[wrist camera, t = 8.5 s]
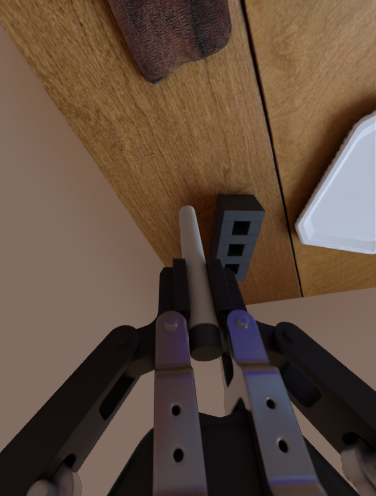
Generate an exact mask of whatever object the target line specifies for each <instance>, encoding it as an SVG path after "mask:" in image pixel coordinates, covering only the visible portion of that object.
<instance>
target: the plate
mask: <svg viewBox="0 0 376 496" xmlns="http://www.w3.org/2000/svg"><path fill="white" fill-rule="evenodd" d="M295 229H296V232H297V234H298V237H299V239H300V242H301V243H303V244H307V245H313V246H320V247H327V248H333V249H340V250H346V251H353V252H360V253H366V254H375V253H376V110H374V111H373V112H371V113H369V114H368V115H366V116H364V117H363V118H361V119H359V120H358V121H356V122H355V124H354V125H353V126H352V127H351V129H350V130H349V132H348V134H347V135H346V137H345V139H344V141H343V142H342V144H341V146H340V147H339V149H338V151H337V152H336V154H335V156H334V157H333V159H332V161H331V162H330V164H329V166H328V168H327V169H326V171H325V173H324V174H323V176H322V178H321V179H320V181H319V183H318V184H317V186H316V188H315V189H314V191H313V193H312V195H311V196H310V198H309V200H308V201H307V203H306V205H305V206H304V208H303V210H302V211H301V213H300V215H299V216H298V218H297V220H296V221H295Z"/></svg>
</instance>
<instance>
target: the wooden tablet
mask: <svg viewBox="0 0 376 496" xmlns="http://www.w3.org/2000/svg"><path fill="white" fill-rule="evenodd" d="M107 1H108V3H109V5H110V7H111V10H112V12H113V14H114V16H115V18H116V21H117V23H118V25H119V27H120V29H121V31H122V34H123V36H124V38H125V40H126V43H127V45H128V47H129V49H130V51H131V53H132V55H133V57H134V59H135V61H136V63H137V64H138V66H139V68H140V70H141V72H142V73H143V75H144V76H145V78H146V79H147V80H148V81H149V82H151V83H153V84H157V83H159V82H161V81H162V80H163V79H164V78H166V77H167V76H168V75H169V74H171V73H172V72H173V71H174V70H175V69H176V68H177V67H179V66H180V65H182V64H183V63H186V62H189V61H196V60H200V59H203V58H205V57H208V56H210V55H212V54H214V53H216V52H218V51H219V50H221V49H222V48H224V47H225V46H226V44H227V43H228V40H229V38H230V36H231V27H232V26H231V20H230V14H229V8H228V1H227V0H107Z"/></svg>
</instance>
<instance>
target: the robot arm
mask: <svg viewBox="0 0 376 496" xmlns="http://www.w3.org/2000/svg"><path fill="white" fill-rule="evenodd" d="M206 268H207V273H208V278H209V283H210V288H211V293H212V297H213V302H214V307H215V312H216V317H217V320H218V325H219V330H220V335H221V340H222V344H223V349H224V351H223V354H222V355H221V356H220V357H219V358H220V364H221V371H222V378H223V384H224V408H225V416H224V417H215V416H211V415H207V414H203V413H200V412H198V405H197V397H196V389H195V380H194V373H193V368H192V367H191V362H190V353H189V344H188V335H187V334H188V322H189V318H190V300H189V290H188V280H187V270H186V260H185V258H173V266H172V267H164V268H163V270H162V271H161V273H160V282H159V307H158V315H157V317H156V319H155V320H154V321H153V322H152V323H151V324H149V325H147V326H144V327H141V328H138V329H135V328H134V327H132V326H129V325H123V326H119V327H117V328H115V329H113V330H112V331H111V332H110V333H109V334H108V335H107V336H106V337H105V339H104V340H103V341H102V342H101V343H100V344H99V345H98V346H97V347H96V349H95V350H94V351H93V352H92V353H91V354H90V355H89V356H88V357H87V358H86V360H84V362H83V363H82V364H81V365H80V366H79V367H78V368H77V369H76V370H75V371H74V372H73V374H72V375H71V376H70V377H69V378H68V379H67V380H66V381H65V382H64V384H63V385H62V386H61V387H60V388H59V389H58V390H57V391H56V392H55V393H54V395H53V396H52V397H51V398H50V399H49V400H48V401H47V402H46V403H45V404H44V406H42V408H41V409H40V410H39V411H38V412H37V413H36V414H35V415H34V417H32V419H31V420H30V421H29V422H28V423H27V424H26V425H25V426H24V427H23V428H22V430H21V431H20V432H19V433H18V434H17V435H16V436H15V437H14V439H12V441H11V442H10V443H9V444H8V445H7V446H6V447H5V448H4V449H3V450H2V451H1V453H0V496H81V492H82V485H81V480H80V477H79V475H78V474H77V471H78V470H79V469H80V467H81V466H82V464H83V463H84V461H85V459H86V458H87V456H88V455H89V453H90V452H91V450H92V449H93V447H94V446H95V444H96V443H97V441H98V440H99V438H100V437H101V435H102V434H103V432H104V431H105V429H106V428H107V426H108V425H109V423H110V422H111V420H112V419H113V417H114V416H115V414H116V413H117V411H118V410H119V408H120V407H121V405H122V404H123V402H124V401H125V399H126V398H127V396H128V394H129V393H130V392H131V390H132V388H133V387H134V385H135V384H136V382H137V381H138V379H139V378H140V376H141V375H143V374H146V373H148V372H150V371H153V370H155V378H154V379H155V382H154V427H153V428H152V429H151V430H150V431H149V432H148V433H147V434H146V435H145V436H144V437H143V439H142V440H141V441H140V443H139V444H138V446H137V447H136V449H135V451H134V452H133V454H132V455H131V457H130V459H129V460H128V462H127V464H126V465H125V467H124V468H123V470H122V472H121V473H120V475H119V477H118V478H117V480H116V482H115V483H114V485H113V486H112V488H111V490H110V491H109V493H108V495H107V496H376V391H375V390H373V389H372V388H371V387H370V386H368V385H367V384H366V383H365V382H363V381H362V380H361V379H360V378H359V377H358V376H356V375H355V374H354V373H353V372H351V371H350V370H349V369H348V368H347V367H346V366H344V365H343V364H342V363H341V362H340V361H338V360H337V359H336V358H335V357H333V356H332V355H331V354H330V353H329V352H328V351H326V350H325V349H324V348H323V347H321V346H320V345H319V344H318V343H317V342H315V341H314V340H313V339H312V338H311V337H309V336H308V335H307V334H306V333H305V332H303V331H302V330H301V329H300V328H298V327H297V326H296V325H294V324H292V323H289V322H280V323H278V324H277V325H276V327H275V326H271V325H267V324H264V323H261V322H258V321H257V320H255V318H254V317H253V316H252V315H251V314H250V313H248V312H247V309H246V307H245V304H244V301H243V298H242V295H241V292H240V289H239V286H238V283H237V280H236V277H235V274H234V273H233V272H232V271H231V269H230V268H229V267H222V263H221V260H220V259H207V261H206ZM290 401H291V402H292V403H293V404H294V405H295V406H296V407H297V408H298V409H299V410H300V412H301V413H302V414H303V415H304V416H305V417H306V418H307V419H308V420H309V421H310V422H311V424H312V425H313V426H314V427H315V428H316V429H317V430H318V431H319V432H320V433H321V434H322V435H323V436H324V437H325V439H326V440H327V441H328V442H329V443H330V444H331V445H332V446H333V447H334V448H335V450H336V451H337V452H338V453H339V454H340V455H341V461H342V470H343V473H344V475H345V477H346V478H347V479H348V480H349V481H350V482H352V483H353V485H354V486H355V487H356V489H357V490H358V492H359V494H360V495H359V494H358V493H357V492H356V491H355V490H354V489H353V488H352V487H351V486H350V484H349V483H348V482H347V481H346V480H345V479H344V478H343V477H342V476H341V475H340V474H339V473H338V472H337V471H336V470H335V469H334V468H333V467H332V465H331V464H329V462H328V461H327V460H326V459H325V458H324V457H323V456H322V455H321V454H320V453H319V452H318V451H317V450H316V449H315V448H314V446H313V445H312V444H311V443H310V442H309V441H308V440H307V439H306V438H305V437H304V436H303V435H302V433H301V430H300V427H299V424H298V421H297V419H296V416H295V413H294V410H293V407H292V405H291V402H290Z"/></svg>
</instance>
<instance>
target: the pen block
mask: <svg viewBox="0 0 376 496" xmlns="http://www.w3.org/2000/svg"><path fill="white" fill-rule="evenodd" d="M264 214H265V210H264V209H263V207H262V206H261V205H260V203H259V202H258V200H257V199H256V197H255V196H254V195H218V198H217V205H216V212H215V219H214V226H213V233H212V240H211V248H210V255H209V259H220V260H221V263H222V267H229V268H230V269H231V271H232V272H233V273H234V274H235V277H236V280H237V281H245V277H246V274H247V270H248V267H249V264H250V260H251V257H252V254H253V250H254V247H255V244H256V240H257V237H258V234H259V230H260V227H261V224H262V220H263V217H264Z"/></svg>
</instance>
